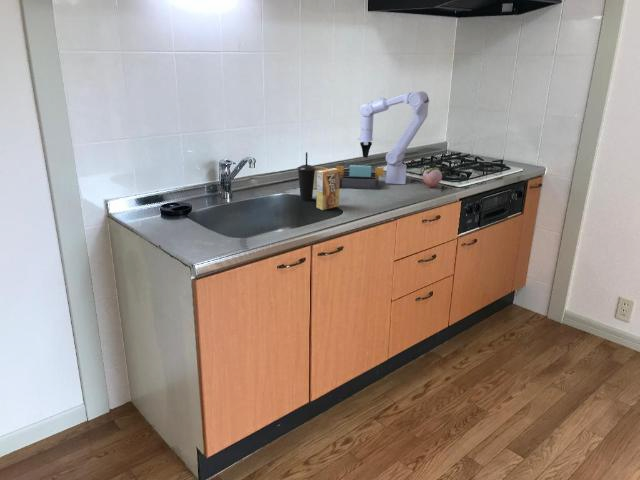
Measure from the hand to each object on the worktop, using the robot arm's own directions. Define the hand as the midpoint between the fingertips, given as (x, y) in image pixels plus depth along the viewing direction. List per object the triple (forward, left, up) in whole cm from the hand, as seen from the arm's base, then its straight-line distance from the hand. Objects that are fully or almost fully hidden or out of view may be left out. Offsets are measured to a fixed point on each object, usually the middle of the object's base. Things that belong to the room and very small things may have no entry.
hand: (365, 157), depth 254 cm
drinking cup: (+24, +42, -11) cm, 50 cm away
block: (+2, +14, -9) cm, 17 cm away
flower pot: (+21, +22, -11) cm, 32 cm away
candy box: (+14, +52, -11) cm, 55 cm away
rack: (+2, +14, -10) cm, 17 cm away
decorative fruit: (-31, +13, -11) cm, 35 cm away
